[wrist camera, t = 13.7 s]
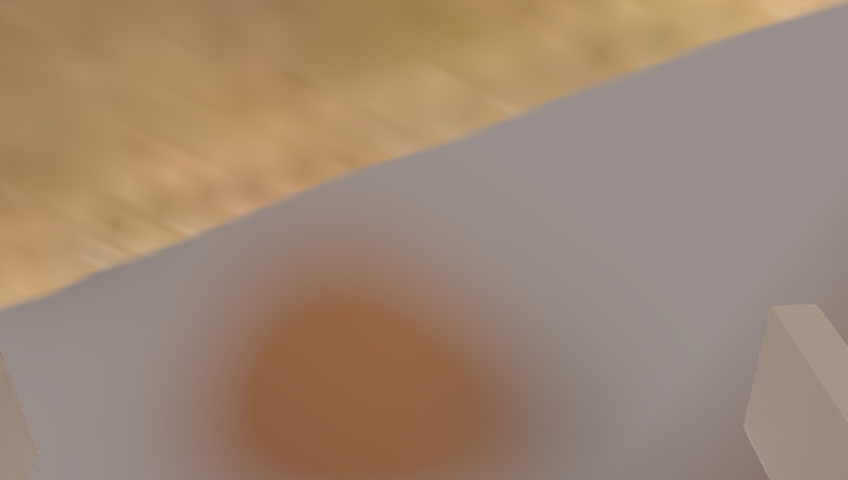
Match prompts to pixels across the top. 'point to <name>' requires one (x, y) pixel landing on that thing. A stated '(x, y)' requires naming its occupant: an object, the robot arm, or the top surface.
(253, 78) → the top surface
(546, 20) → the top surface
